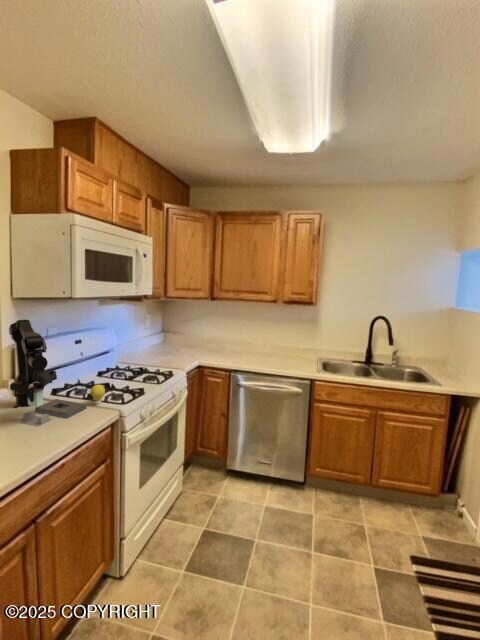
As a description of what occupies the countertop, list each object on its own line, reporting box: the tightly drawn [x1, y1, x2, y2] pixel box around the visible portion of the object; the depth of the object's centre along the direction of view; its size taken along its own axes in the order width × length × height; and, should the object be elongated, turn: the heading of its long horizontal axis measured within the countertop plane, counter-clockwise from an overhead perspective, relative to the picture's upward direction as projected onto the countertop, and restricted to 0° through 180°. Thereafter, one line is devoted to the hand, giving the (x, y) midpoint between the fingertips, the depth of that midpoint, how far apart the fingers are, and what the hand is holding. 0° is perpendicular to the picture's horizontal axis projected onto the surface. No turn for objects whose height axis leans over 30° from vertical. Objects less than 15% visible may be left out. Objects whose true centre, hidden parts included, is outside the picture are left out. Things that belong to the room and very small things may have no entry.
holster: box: [19, 410, 54, 428], centre depth 152 cm, size 10×8×4 cm
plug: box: [28, 388, 44, 408], centre depth 151 cm, size 5×3×7 cm, turn 73°
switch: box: [34, 398, 88, 419], centre depth 165 cm, size 18×12×3 cm, turn 73°
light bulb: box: [90, 384, 106, 406], centre depth 175 cm, size 7×7×10 cm
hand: (35, 400), depth 151 cm, fingers closed on plug, 3 cm apart
